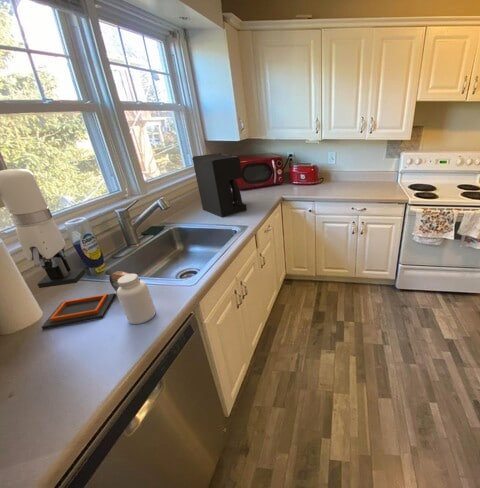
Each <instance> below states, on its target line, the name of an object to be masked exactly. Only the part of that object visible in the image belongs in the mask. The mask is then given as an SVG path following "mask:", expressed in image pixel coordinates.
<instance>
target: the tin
mask: <svg viewBox="0 0 480 488" xmlns="http://www.w3.org/2000/svg"><path fill="white" fill-rule="evenodd" d="M127 274H130V273H129V272H125V271H123V270H117V271H115V272H112V273H110V274H109V275H108V277H109V278H108V279H109V283H110V286H111V287H112V288H113V289H114V291H115V292H117V290H118V288H119V287H120V286H119V285H118V282H117V281H118V279H119V278H120V277H122V276H124V275H127ZM139 280H141V279H140V278H139Z"/></svg>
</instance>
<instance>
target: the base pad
mask: <svg viewBox="0 0 480 488" xmlns="http://www.w3.org/2000/svg"><path fill="white" fill-rule="evenodd" d="M116 297H117V293H116V292H114V293H104V294H100V295H99V294H98V295H94V296H93V295H92V296H86V297H79V298H75V299H70V300H64V301H62V302H61V303H60V304H59V305H57V308H56V309H55V310H54V311H53V312H52V313H51V314H50V316H49V317H48V318H47V319H46V320H45V322H44V323H43V324H42V326H41V329H42V330H46V329H52V328H58V327H62V326H68V325H73V324H78V323H84V322H88V321H94V320H99V319H103V318H104V317H105V315H106V314H107V312H108V310H109V309H110V307H111V305H112V303H113V302H114V300H115V298H116Z"/></svg>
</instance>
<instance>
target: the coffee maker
mask: <svg viewBox="0 0 480 488" xmlns="http://www.w3.org/2000/svg"><path fill="white" fill-rule="evenodd" d="M191 160H192V164H193V168H194V169H193V170H194V174H195V177H196V178H195V179H196V183H197V188H198V192H199V198H200V202H201V206H202V210H203V211H205V212H207V213H210V214H213V215H215V216H218V217H220V218H225V217H228V216H232V215H235V214H238V213H242V212H246V211H247V209H248V208H247V204H246V203H243V198H242V194H241V190H240V187H239V185H238V182H237V180H239V179H242V177H243V171H242V165H241V158H240V157H239V156H235V155H233V154H224V153H210V154H203V155H202V154H201V155H194V156H192V157H191Z"/></svg>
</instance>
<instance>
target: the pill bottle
mask: <svg viewBox="0 0 480 488" xmlns="http://www.w3.org/2000/svg"><path fill="white" fill-rule="evenodd" d="M139 279H140V277H139V275H138V274H136V273H129V274H127V275H124V276H122V277H120V278H119V279H118V281H117V282H118V285H119V286H120V287H119V288H118V290H117V291H116V297H117V298H118V301H119V303H120V305H121V307H122V310H123V312H124V316H125V317H126V320H127V322H128V323H129V324H132V325H140V324H144V323H146V322H148V321H150V320H151V319H153V318H154V316H155V315H156V312H157V311H156V308H155V304H154V302H153V298H152V295H151V293H150V290H149V288H148V285H147V283H146V282H145V280H141V279H140V280H139Z"/></svg>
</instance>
